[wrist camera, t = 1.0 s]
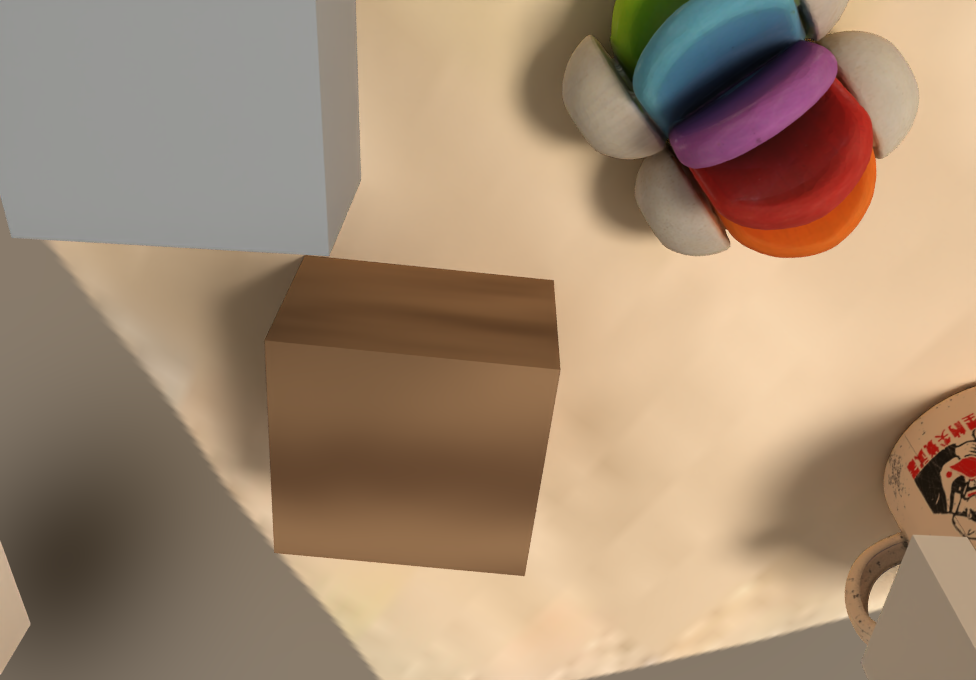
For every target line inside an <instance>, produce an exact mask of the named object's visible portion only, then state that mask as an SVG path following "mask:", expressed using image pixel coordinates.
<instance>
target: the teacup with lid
mask: <svg viewBox="0 0 976 680" xmlns="http://www.w3.org/2000/svg"><path fill="white" fill-rule="evenodd" d="M884 493H885V498H886V501H887V504H888V507H889V509H890V511H891V513H892V515H893V516H894V518H895V520H896V522H897V524H898V526H899V528H900V530H901V532H900V533H898V534H895V535H892V536H890V537H888V538H885V539H883V540H881V541H879V542H877V543H875V544H874V545H872V546H870V547H869V548H868V549H866V550H865V551H864V552H863V553H862V554H861V555H860V556H859V557H858V558H857V559H856V561H855V562H854V564H853V565H852V567H851V569H850V572H849V574H848V577H847V581H846V586H845V603H846V609H847V613H848V616H849V618H850V621H851V622H852V625H853V627H854V629H855V630H856V632H857V634H858V635H859V636H860V638H861V639H862V640H863V641H864V642H865V643H866V644H867V645H868V643H869V640H870V638H871V635H872V633H873V630H874V628H875V625H876V622H874V621H873V620H872V619H871V618H870V617H869V614H868V599H869V595H870V591H871V589H872V587H873V585H874V583H875V582H876V580H877V579H878V578H879V577H880V576H881V575H882V574H883V573H884V572H886V571H887V570H889V569H890V568H892V567H894V566H896V565H898V564H901V562H902V559H903V557H904V554H905V552H906V549H907V547H908V545H909V542H910V540H911V537H912V535H931V536H953V537H967V538H968V539H969V541H970V543H971V544H972V546H973V547H974V549H975V551H976V386H975V387H972V388H969V389H967V390H964V391H962V392H959V393H957V394H955V395H953V396H951V397H949V398H947V399H945V400H943V401H942V402H940V403H938V404H936V405H935V406H934V407H932V408H931V409H929V410H928V411H926V412H925V413H924V414H923V415H921V416H920V417H919V418H918V419H917V420H916V421H915V422H914V423H912V424H911V425H910V427H909V428H908V429H907V430H906V431H905V432H904V433H903V435H902V436H901V437H900V439H899V440H898V442H897V443H896V445H895V446H894V448H893V450H892V452H891V454H890V456H889V459H888V461H887V464H886V468H885V473H884Z"/></svg>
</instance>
